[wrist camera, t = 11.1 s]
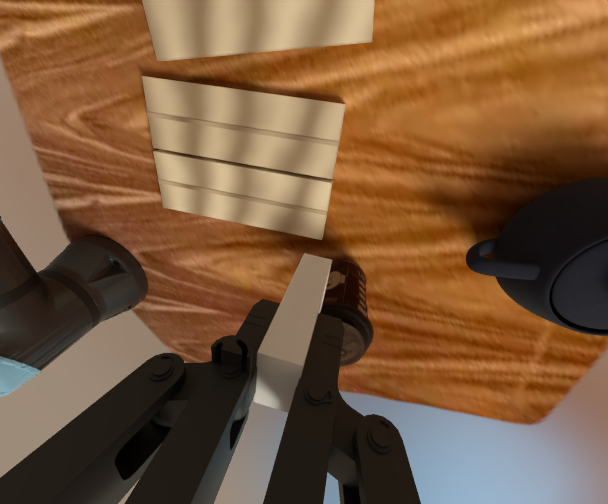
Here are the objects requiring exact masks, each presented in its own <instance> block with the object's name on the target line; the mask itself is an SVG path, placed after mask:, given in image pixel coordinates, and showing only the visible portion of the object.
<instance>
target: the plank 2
mask: <svg viewBox="0 0 608 504" xmlns="http://www.w3.org/2000/svg"><path fill="white" fill-rule="evenodd" d="M153 152H154V158H155V163H156V169H157V174H158V183H159V185H160V191H161V196H162V202H163V207H164V208H169V209H174V210H178V211H183V212H188V213H193V214H198V215H203V216H207V217H212V218H217V219H222V220H227V221H232V222H236V223H241V224H246V225H251V226H256V227H261V228H266V229H270V230H275V231H280V232H285V233H290V234H295V235H299V236H304V237H309V238H314V239H319V240H322V238H323V234H324V229H325V223H326V217H327V211H328V205H329V199H330V194H331V188H332V182H333V180H328V179H322V178H317V177H311V176H305V175H300V174H294V173H288V172H283V171H277V170H271V169H266V168H260V167H254V166H249V165H243V164H237V163H232V162H226V161H220V160H215V159H209V158H203V157H198V156H192V155H186V154H181V153H175V152H169V151H164V150H157V151H153Z"/></svg>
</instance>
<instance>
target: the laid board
mask: <svg viewBox="0 0 608 504" xmlns="http://www.w3.org/2000/svg"><path fill="white" fill-rule="evenodd" d="M142 80H143V86H144V93H145V99H146V105H147V116H148V118H149V125H150V131H151V138H152V144H153V148H157V149H162V150H168V151H174V152H179V153H185V154H191V155H196V156H202V157H208V158H213V159H219V160H225V161H231V162H236V163H242V164H248V165H253V166H259V167H265V168H270V169H276V170H282V171H287V172H293V173H299V174H304V175H310V176H316V177H321V178H327V179H333V176H334V170H335V164H336V159H337V153H338V147H339V141H340V135H341V129H342V124H343V118H344V112H345V106H346V104H341V103H334V102H327V101H320V100H312V99H305V98H298V97H291V96H284V95H276V94H269V93H262V92H255V91H247V90H240V89H233V88H226V87H219V86H211V85H204V84H197V83H190V82H182V81H175V80H168V79H161V78H154V77H146V76H142Z"/></svg>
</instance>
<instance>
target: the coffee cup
mask: <svg viewBox="0 0 608 504" xmlns="http://www.w3.org/2000/svg"><path fill="white" fill-rule="evenodd" d="M365 286H366V277H365V274H364V272H363V271H362V270H361V268H360V267H359V266H358V265H356V264H355V263H353V262H351V261H336V262H333V263H332V264H331V268H330V272H329V277H328V281H327V286H326V290H325V295H324V299H323V303H322V307H321V311H320V313H321V314H324V315H328V316H332V317H336V318H339V319H341V320H342V323H343V326H344V328H345V330H344V337H343V345H342V352H341V359H340V367H341V366H347V365H351V364H354V363H356V362H357V361H359V360H360V358H362V356H363V355H364V353H365V352H366V350H367V349H368V347H369V346H370V343H371V342H372V339H373V333H374V331H373V327H372V324H371V322H370V321H369V319H368V315H367V305H366V287H365Z"/></svg>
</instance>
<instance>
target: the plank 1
mask: <svg viewBox="0 0 608 504" xmlns="http://www.w3.org/2000/svg"><path fill="white" fill-rule="evenodd" d="M142 2H143V6H144V10H145V14H146V18H147V22H148V26H149V30H150V34H151V38H152V42H153V46H154V50H155V54H156V58H157V61H169V60H180V59H191V58H202V57H213V56H224V55H236V54H247V53H258V52H269V51H280V50H291V49H302V48H313V47H324V46H335V45H346V44H358V43H369V42H372V31H373V15H374V0H142Z"/></svg>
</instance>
